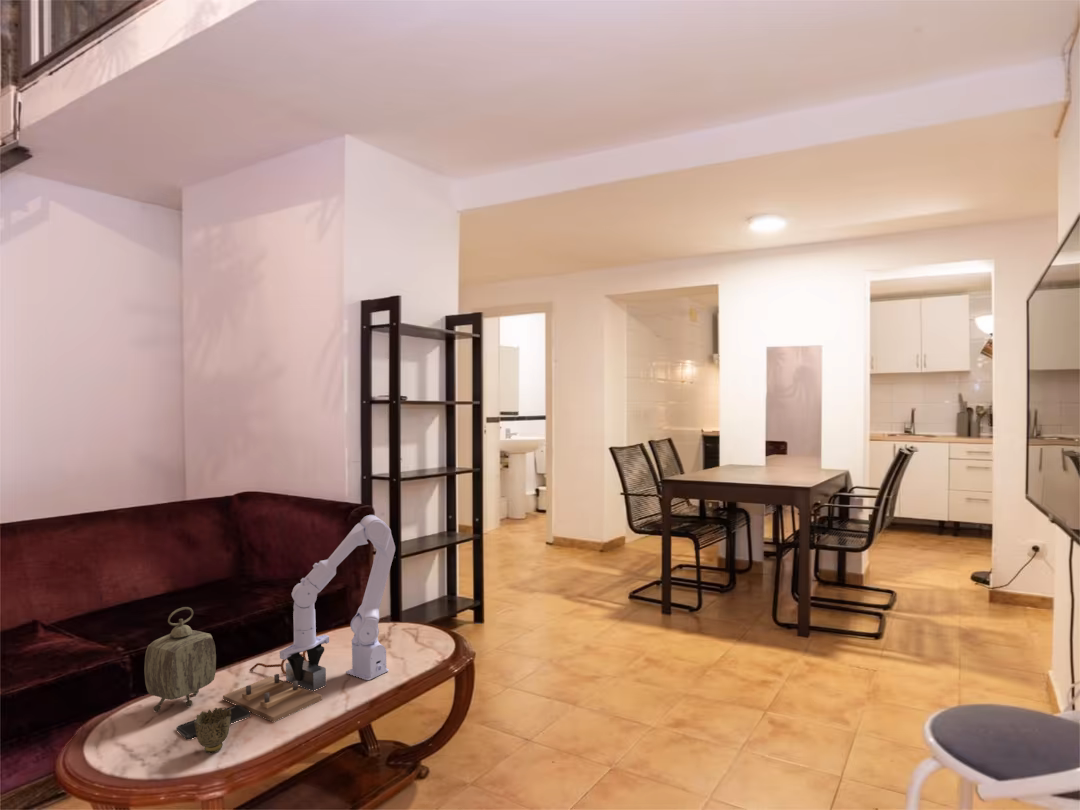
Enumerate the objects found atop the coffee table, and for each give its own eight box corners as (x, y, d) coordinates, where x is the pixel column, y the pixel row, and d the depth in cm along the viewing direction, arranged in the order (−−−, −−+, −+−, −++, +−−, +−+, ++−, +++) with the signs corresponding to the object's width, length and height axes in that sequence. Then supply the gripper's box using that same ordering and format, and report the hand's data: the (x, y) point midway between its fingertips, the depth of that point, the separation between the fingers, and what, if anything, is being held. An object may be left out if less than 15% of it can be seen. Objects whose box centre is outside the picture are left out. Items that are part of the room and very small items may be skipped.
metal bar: (326, 686, 181) (325, 667, 181) (313, 691, 178) (313, 673, 178) (298, 676, 188) (298, 658, 188) (286, 681, 184) (285, 663, 184)
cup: (203, 742, 152) (202, 707, 152) (236, 740, 153) (236, 706, 153) (189, 760, 145) (188, 723, 144) (224, 758, 145) (223, 721, 145)
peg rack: (321, 699, 173) (321, 683, 172) (273, 722, 161) (273, 705, 161) (271, 680, 185) (270, 665, 185) (223, 700, 173) (222, 684, 173)
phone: (174, 726, 158) (238, 704, 169) (175, 731, 158) (238, 708, 169) (187, 737, 153) (252, 713, 164) (187, 742, 153) (252, 717, 164)
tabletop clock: (197, 690, 179) (195, 598, 179) (220, 696, 176) (218, 602, 175) (145, 713, 166) (142, 614, 166) (168, 721, 163) (166, 619, 162)
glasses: (283, 678, 187) (283, 660, 187) (249, 671, 193) (249, 653, 193) (317, 660, 199) (316, 644, 199) (284, 654, 205) (284, 638, 205)
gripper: (317, 617, 191) (318, 664, 191) (272, 632, 179) (273, 682, 179) (333, 621, 187) (334, 669, 187) (288, 637, 175) (289, 689, 175)
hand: (305, 676), depth 183 cm, fingers closed on metal bar, 4 cm apart
